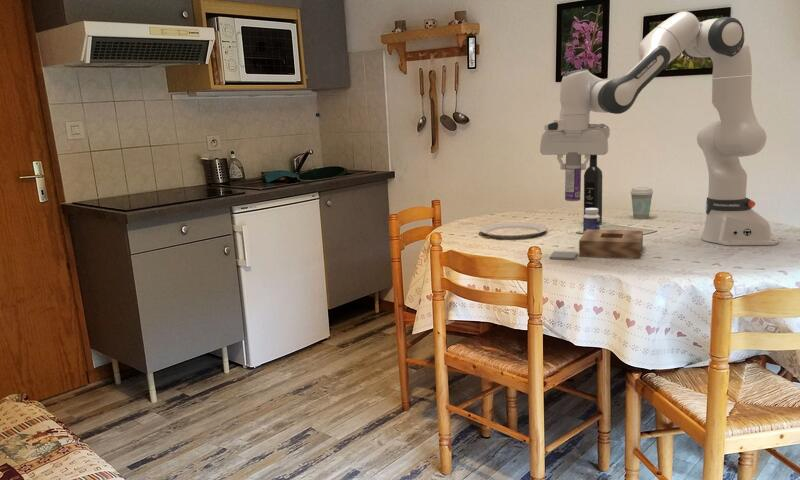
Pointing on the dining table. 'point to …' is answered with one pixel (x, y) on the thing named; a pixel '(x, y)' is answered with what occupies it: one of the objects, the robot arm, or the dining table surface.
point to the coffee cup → (641, 202)
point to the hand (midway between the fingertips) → (573, 169)
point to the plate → (527, 225)
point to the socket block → (611, 243)
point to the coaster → (563, 255)
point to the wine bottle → (593, 187)
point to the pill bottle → (591, 219)
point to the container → (573, 177)
